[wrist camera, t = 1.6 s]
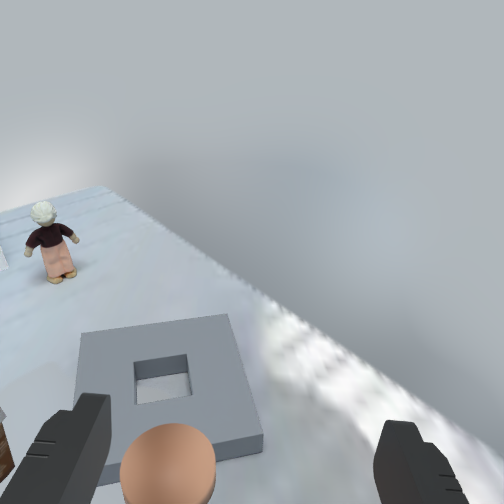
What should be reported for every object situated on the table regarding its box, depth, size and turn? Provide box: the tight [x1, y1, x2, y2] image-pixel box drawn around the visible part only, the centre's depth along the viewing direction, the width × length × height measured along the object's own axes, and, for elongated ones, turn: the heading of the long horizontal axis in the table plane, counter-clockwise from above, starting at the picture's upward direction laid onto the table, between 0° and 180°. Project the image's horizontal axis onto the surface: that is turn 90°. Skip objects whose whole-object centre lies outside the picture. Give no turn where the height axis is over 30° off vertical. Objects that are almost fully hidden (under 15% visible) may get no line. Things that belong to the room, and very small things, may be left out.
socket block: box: [73, 314, 263, 487], centre depth 48 cm, size 18×18×3 cm
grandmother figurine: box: [24, 201, 79, 284], centre depth 63 cm, size 8×4×13 cm, turn 142°
